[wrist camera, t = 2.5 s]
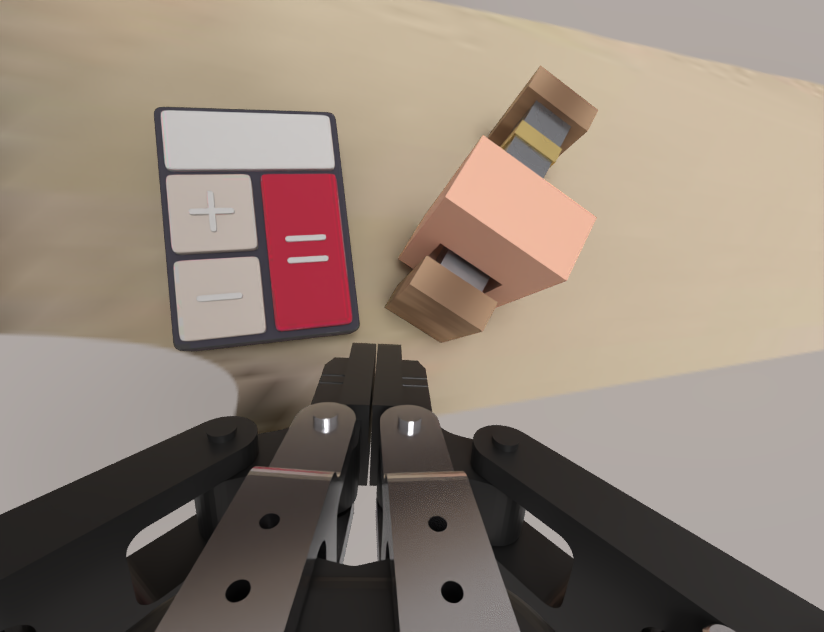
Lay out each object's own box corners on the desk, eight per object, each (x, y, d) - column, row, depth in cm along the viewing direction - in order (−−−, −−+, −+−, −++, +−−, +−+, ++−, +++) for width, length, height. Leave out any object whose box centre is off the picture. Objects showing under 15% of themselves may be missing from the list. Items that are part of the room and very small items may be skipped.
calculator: (169, 351, 23) (147, 97, 24) (189, 352, 27) (170, 135, 28) (362, 329, 26) (336, 104, 27) (354, 333, 30) (331, 138, 31)
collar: (397, 258, 28) (444, 196, 19) (425, 215, 30) (483, 134, 20) (481, 313, 29) (566, 280, 20) (504, 268, 30) (596, 217, 21)
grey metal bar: (414, 291, 26) (428, 279, 23) (517, 117, 30) (541, 87, 27) (456, 318, 27) (476, 309, 24) (551, 143, 31) (579, 116, 28)
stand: (384, 307, 30) (409, 284, 22) (491, 131, 34) (540, 65, 27) (440, 342, 30) (482, 331, 23) (538, 165, 35) (598, 110, 28)
